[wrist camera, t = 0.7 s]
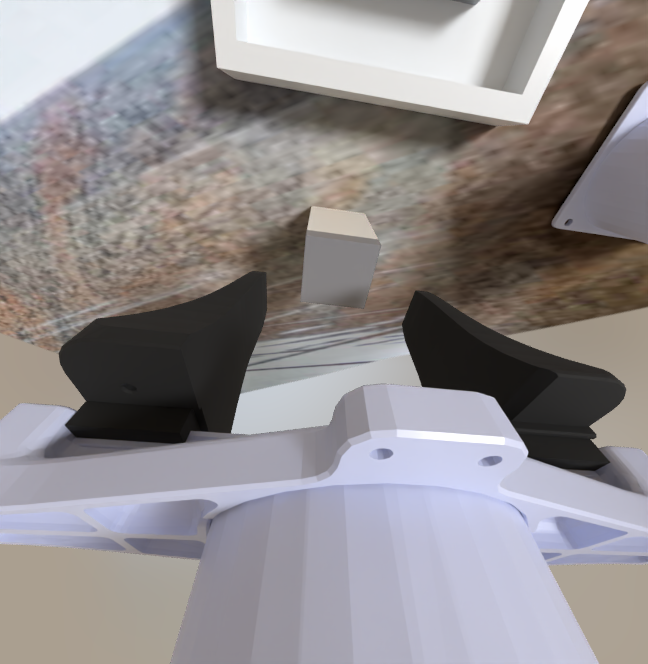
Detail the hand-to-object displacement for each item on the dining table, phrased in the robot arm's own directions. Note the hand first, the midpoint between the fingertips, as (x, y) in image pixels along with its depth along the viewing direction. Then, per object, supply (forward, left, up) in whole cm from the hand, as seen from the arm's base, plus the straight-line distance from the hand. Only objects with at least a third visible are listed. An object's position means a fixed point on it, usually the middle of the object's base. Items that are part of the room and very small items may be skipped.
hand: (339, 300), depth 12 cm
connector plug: (0, 0, -10) cm, 10 cm away
